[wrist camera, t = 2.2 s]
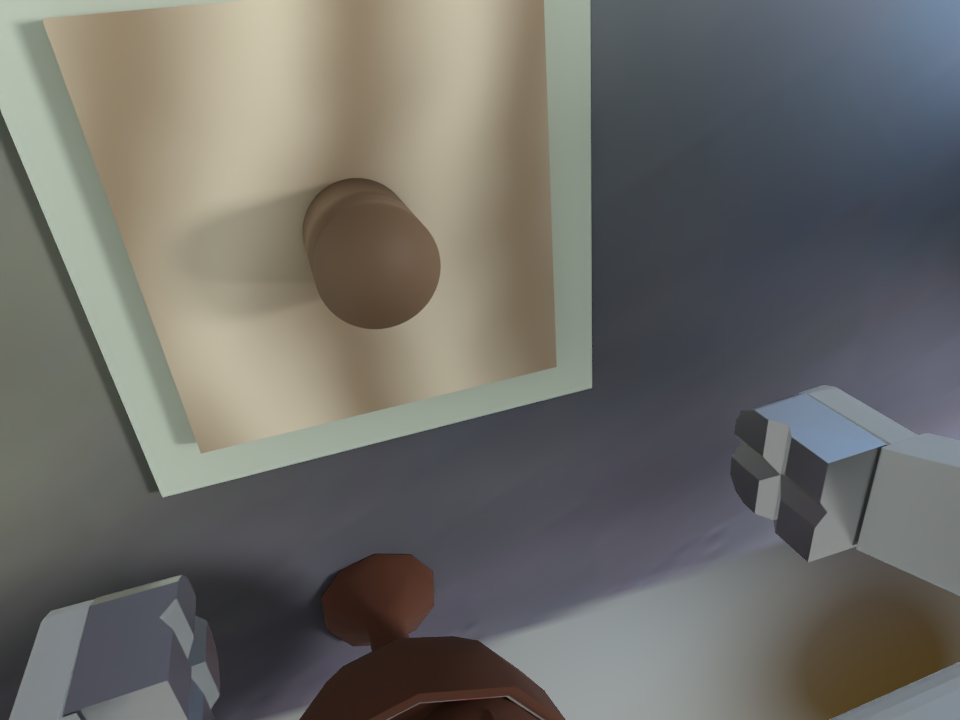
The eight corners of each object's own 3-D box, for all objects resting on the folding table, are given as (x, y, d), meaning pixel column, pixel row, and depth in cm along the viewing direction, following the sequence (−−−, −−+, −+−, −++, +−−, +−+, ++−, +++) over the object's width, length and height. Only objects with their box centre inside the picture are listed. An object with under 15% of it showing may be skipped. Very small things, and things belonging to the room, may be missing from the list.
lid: (533, -26, 21) (603, -38, 17) (548, 358, 27) (602, 416, 23) (49, 18, 17) (-10, 16, 13) (202, 441, 24) (193, 525, 20)
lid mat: (584, -103, 21) (589, -106, 20) (587, 383, 29) (592, 387, 29) (-67, -63, 16) (-73, -65, 16) (163, 491, 25) (162, 497, 25)
